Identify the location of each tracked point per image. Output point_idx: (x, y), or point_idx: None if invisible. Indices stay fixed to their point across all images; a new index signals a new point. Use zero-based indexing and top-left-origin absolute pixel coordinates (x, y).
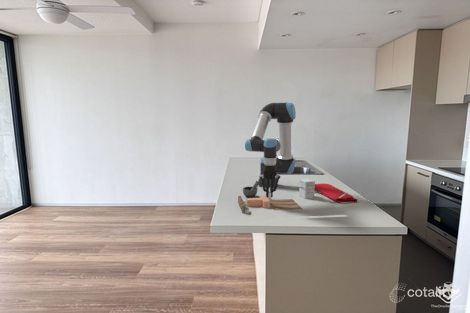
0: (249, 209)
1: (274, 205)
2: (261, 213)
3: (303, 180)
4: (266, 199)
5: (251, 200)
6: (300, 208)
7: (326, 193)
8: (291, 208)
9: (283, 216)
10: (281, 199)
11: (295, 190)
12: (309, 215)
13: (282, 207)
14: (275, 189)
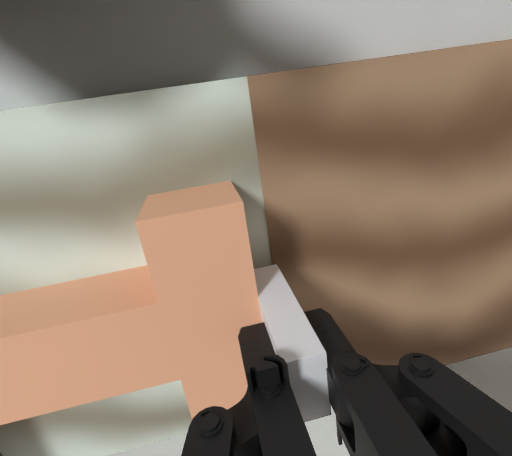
0: (52, 433)
1: (313, 293)
2: (177, 437)
3: None
4: (237, 360)
5: (24, 415)
6: (508, 334)
7: None
8: (441, 345)
9: (337, 451)
10: (443, 54)
11: None
12: (505, 401)
13: (375, 335)
14: (440, 440)
